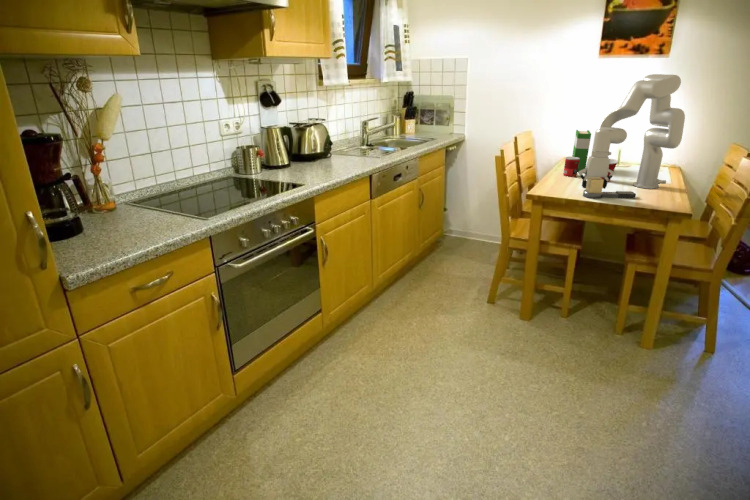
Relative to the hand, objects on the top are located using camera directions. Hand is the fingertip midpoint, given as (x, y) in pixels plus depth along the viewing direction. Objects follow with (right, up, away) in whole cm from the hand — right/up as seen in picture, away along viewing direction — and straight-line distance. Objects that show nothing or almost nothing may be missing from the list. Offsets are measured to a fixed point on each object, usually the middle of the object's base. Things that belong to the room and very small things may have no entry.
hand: (593, 187), depth 232 cm
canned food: (+7, +14, +46) cm, 48 cm away
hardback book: (+19, +20, +61) cm, 67 cm away
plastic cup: (+22, +9, +33) cm, 41 cm away
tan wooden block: (0, -2, +1) cm, 2 cm away
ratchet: (+8, -4, +1) cm, 9 cm away
